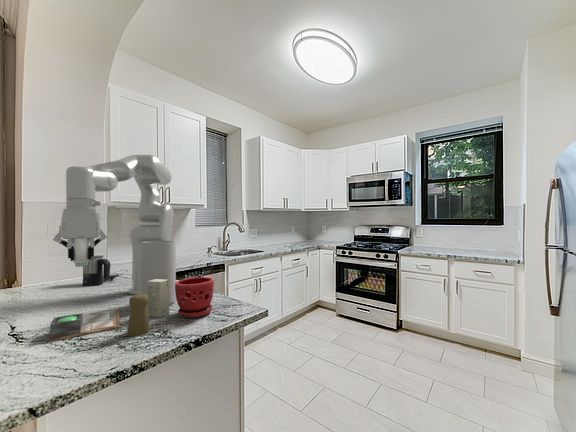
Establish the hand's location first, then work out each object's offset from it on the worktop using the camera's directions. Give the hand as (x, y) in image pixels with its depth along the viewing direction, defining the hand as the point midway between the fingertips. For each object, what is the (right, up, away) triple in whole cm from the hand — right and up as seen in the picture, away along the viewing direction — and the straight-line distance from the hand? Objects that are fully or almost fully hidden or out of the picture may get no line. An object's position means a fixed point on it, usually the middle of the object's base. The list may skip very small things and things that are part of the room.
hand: (81, 259), depth 86 cm
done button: (+4, -18, -10) cm, 21 cm away
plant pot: (+35, -21, +7) cm, 41 cm away
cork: (+24, -20, -9) cm, 33 cm away
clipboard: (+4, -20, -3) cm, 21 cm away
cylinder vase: (+16, -21, +19) cm, 33 cm away
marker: (0, -2, 0) cm, 2 cm away
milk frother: (-34, -22, +56) cm, 69 cm away
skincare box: (+23, -21, +6) cm, 31 cm away
